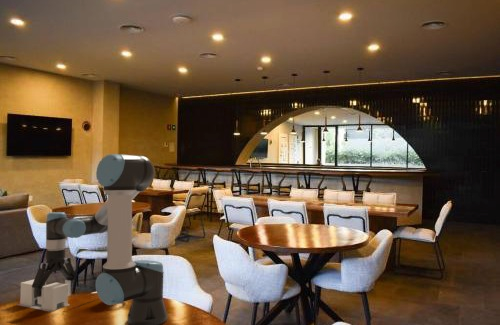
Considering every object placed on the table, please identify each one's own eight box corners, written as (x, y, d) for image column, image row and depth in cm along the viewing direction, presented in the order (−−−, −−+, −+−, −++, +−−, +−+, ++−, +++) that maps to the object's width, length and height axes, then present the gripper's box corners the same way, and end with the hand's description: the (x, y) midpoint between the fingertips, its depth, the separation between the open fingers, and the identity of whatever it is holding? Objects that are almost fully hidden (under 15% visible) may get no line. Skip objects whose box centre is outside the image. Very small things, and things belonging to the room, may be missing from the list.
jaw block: (67, 305, 174) (67, 284, 174) (53, 310, 167) (53, 288, 167) (54, 303, 177) (54, 282, 177) (40, 307, 170) (40, 286, 170)
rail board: (70, 307, 175) (70, 299, 175) (50, 314, 166) (50, 306, 166) (37, 301, 183) (37, 293, 183) (16, 307, 174) (17, 300, 174)
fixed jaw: (20, 303, 175) (20, 282, 176) (34, 299, 182) (35, 279, 182) (32, 306, 172) (32, 284, 173) (46, 301, 179) (47, 281, 179)
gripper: (72, 243, 185) (71, 290, 185) (22, 253, 163) (21, 306, 162) (85, 245, 182) (84, 292, 182) (35, 254, 160) (34, 309, 159)
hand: (54, 299), depth 172 cm, fingers open, 13 cm apart
